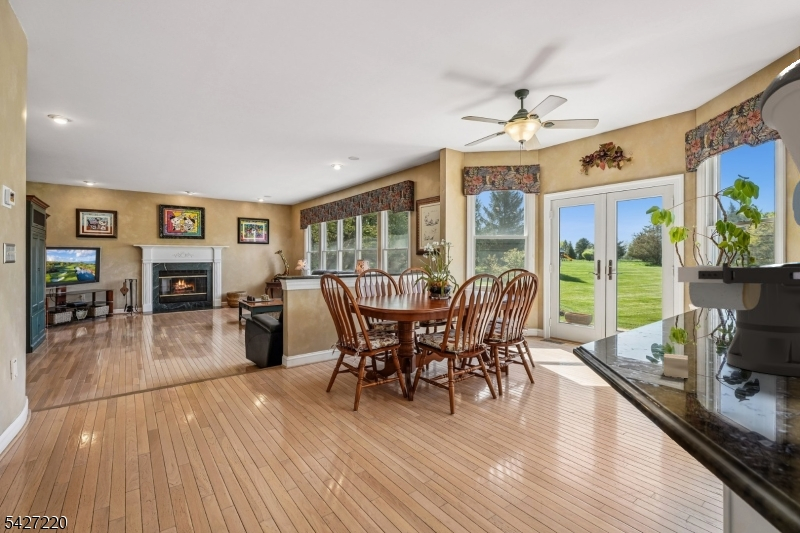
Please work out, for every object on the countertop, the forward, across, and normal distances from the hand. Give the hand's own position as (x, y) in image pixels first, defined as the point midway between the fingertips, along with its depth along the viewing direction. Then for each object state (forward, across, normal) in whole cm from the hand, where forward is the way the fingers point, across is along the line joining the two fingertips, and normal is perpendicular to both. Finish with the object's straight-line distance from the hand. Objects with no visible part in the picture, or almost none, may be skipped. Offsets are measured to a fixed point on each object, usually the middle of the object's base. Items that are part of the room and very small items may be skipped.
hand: (688, 274), depth 69 cm
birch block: (+6, +8, -21) cm, 24 cm away
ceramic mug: (-5, +1, -6) cm, 8 cm away
